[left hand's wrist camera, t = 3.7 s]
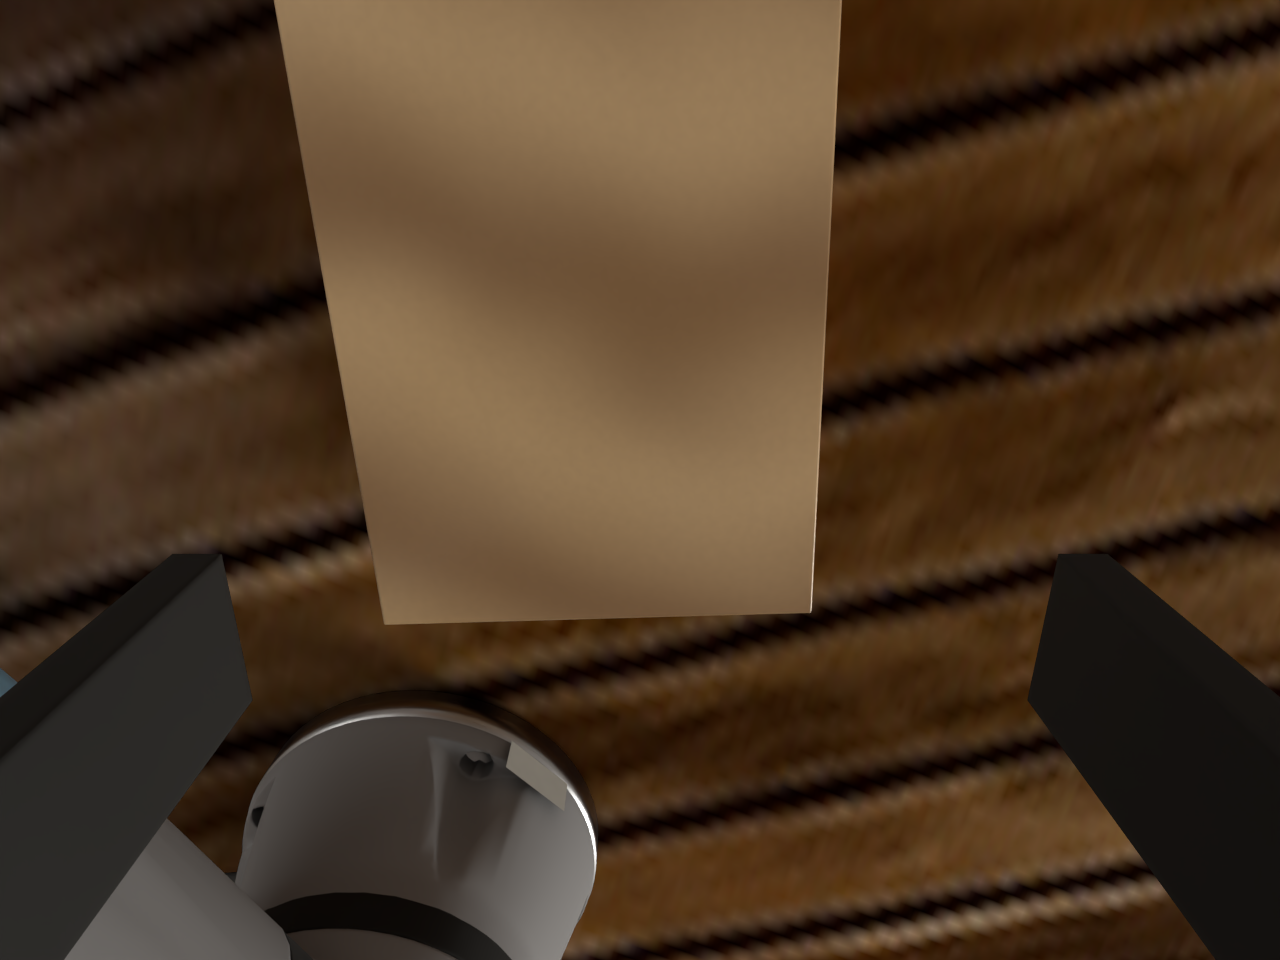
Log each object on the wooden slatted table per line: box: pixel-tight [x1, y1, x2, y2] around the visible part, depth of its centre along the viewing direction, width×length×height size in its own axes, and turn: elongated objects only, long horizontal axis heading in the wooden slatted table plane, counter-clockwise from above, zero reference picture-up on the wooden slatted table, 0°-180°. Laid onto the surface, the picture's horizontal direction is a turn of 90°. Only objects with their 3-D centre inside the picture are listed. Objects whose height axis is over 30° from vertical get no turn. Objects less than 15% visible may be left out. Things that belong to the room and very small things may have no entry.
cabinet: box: [274, 0, 842, 625], centre depth 22 cm, size 19×11×11 cm, turn 2°
